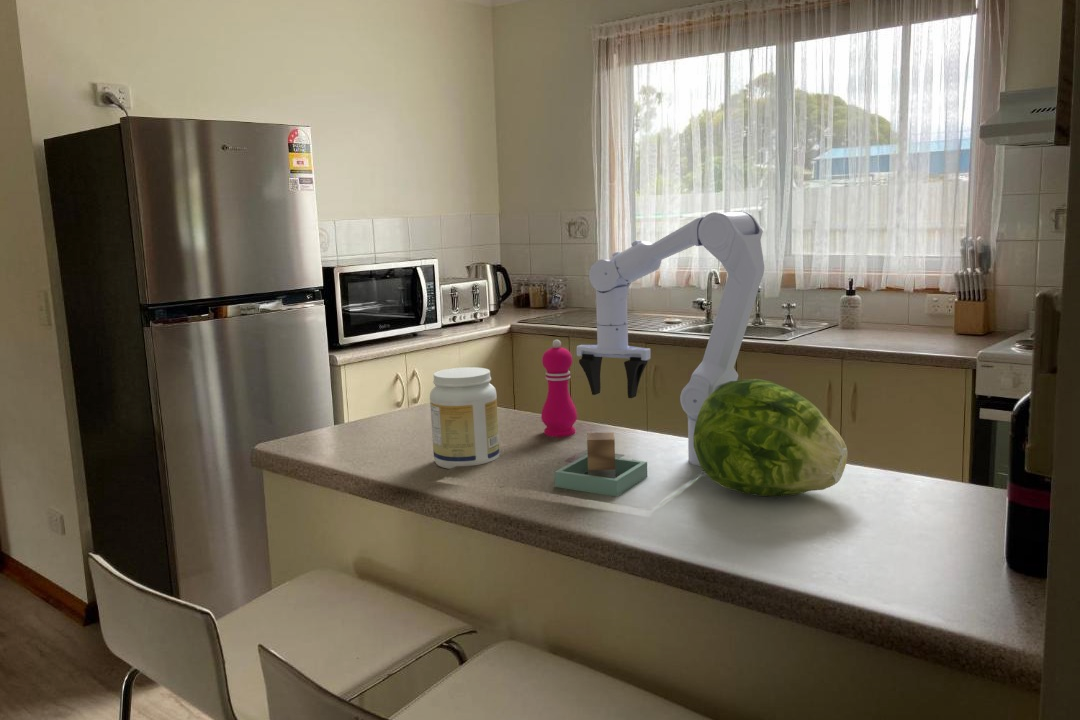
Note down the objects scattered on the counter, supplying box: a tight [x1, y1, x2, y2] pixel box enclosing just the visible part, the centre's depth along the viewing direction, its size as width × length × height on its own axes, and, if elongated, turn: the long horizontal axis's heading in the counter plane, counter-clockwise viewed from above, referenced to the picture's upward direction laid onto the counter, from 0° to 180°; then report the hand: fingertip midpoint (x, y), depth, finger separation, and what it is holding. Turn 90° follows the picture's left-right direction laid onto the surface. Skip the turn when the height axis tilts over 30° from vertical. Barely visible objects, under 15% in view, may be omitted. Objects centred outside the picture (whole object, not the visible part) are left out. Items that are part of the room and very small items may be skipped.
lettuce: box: [693, 378, 849, 498], centre depth 133 cm, size 19×23×18 cm
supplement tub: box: [429, 366, 500, 470], centre depth 157 cm, size 12×12×17 cm
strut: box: [586, 432, 616, 479], centre depth 140 cm, size 4×4×8 cm
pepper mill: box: [540, 339, 578, 438], centre depth 172 cm, size 7×7×20 cm
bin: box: [554, 454, 648, 497], centre depth 141 cm, size 11×11×4 cm
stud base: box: [565, 449, 625, 463], centre depth 154 cm, size 8×8×3 cm
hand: (613, 395), depth 162 cm, fingers open, 7 cm apart
